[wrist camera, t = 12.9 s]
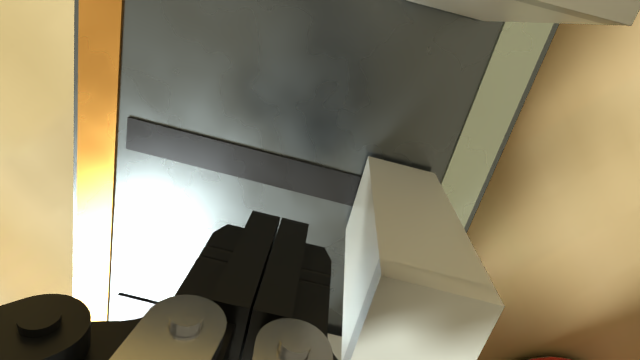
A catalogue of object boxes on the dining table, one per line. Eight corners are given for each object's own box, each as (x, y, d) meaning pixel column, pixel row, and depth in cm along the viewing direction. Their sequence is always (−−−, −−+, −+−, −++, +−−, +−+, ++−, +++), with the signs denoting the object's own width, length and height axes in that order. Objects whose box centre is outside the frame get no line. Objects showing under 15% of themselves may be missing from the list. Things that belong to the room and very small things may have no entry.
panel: (117, 304, 23) (71, 361, 19) (150, -244, 14) (74, -342, 10) (373, 367, 23) (377, 435, 19) (571, -128, 14) (651, -182, 10)
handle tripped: (345, 229, 15) (340, 387, 9) (368, 156, 14) (381, 275, 8) (407, 244, 15) (447, 414, 9) (435, 173, 14) (504, 306, 8)
